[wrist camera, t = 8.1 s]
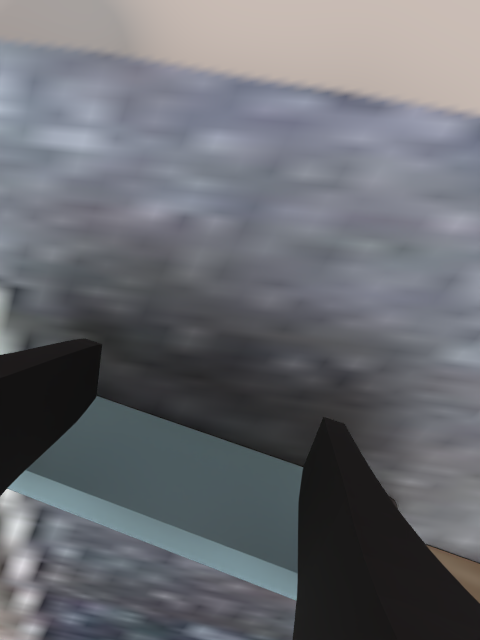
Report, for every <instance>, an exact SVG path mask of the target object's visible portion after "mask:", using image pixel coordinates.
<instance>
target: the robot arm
mask: <svg viewBox="0 0 480 640" xmlns="http://www.w3.org/2000/svg"><path fill="white" fill-rule="evenodd" d="M101 348H102V344H100V343H97V342H94V341H91V340H88V339H77V340H71V341H66V342H61V343H56V344H51V345H47V346H42V347H37V348H33V349H28V350H24V351H19V352H14V353H9V354H3V355H0V496H1V495H2V494H3V492H4V491H5V490H6V489H7V488H8V487H9V486H10V485H11V484H12V483H13V482H14V481H15V480H16V479H17V478H18V477H19V476H20V475H21V474H22V473H23V472H24V471H25V470H26V469H27V468H28V467H30V466H31V465H32V464H33V463H34V462H35V461H36V460H37V459H38V458H39V457H40V456H41V455H42V454H43V453H44V452H46V451H47V450H48V449H49V448H50V447H51V446H52V445H53V444H54V443H55V442H56V441H57V440H58V439H59V438H60V437H62V436H63V435H64V434H65V433H66V432H67V431H68V430H69V429H70V428H71V427H72V426H73V425H74V424H75V423H76V422H77V421H78V420H79V418H80V417H81V416H82V415H83V414H84V413H85V411H86V410H87V409H88V407H89V406H90V405H91V404H92V402H93V401H94V400H95V399H96V394H97V385H98V376H99V367H100V358H101ZM293 640H480V603H479V602H478V601H477V600H476V599H475V598H474V597H473V596H472V595H471V594H470V593H469V592H468V591H467V590H466V589H465V588H464V587H463V586H462V585H461V583H460V582H459V581H458V580H457V579H456V578H455V577H454V576H453V575H452V574H451V573H450V572H449V570H448V569H447V568H446V567H445V566H444V565H443V564H442V563H441V562H440V561H439V560H438V558H437V557H436V556H435V555H434V554H433V553H432V552H431V550H430V549H429V548H428V547H427V546H426V544H425V543H424V542H423V541H422V540H421V538H420V537H419V536H418V535H417V533H416V532H415V531H414V530H413V528H412V527H411V526H410V525H409V524H408V522H407V521H406V520H405V518H404V517H403V516H402V514H401V513H400V512H399V510H398V509H397V508H396V506H395V505H394V503H393V502H392V500H391V499H390V498H389V496H388V495H387V493H386V492H385V490H384V489H383V487H382V486H381V484H380V483H379V481H378V480H377V478H376V477H375V475H374V474H373V472H372V470H371V469H370V467H369V466H368V464H367V462H366V461H365V459H364V457H363V456H362V454H361V452H360V450H359V449H358V447H357V445H356V444H355V442H354V440H353V438H352V437H351V435H350V433H349V431H348V430H347V428H346V426H345V425H344V423H340V422H337V421H334V420H331V419H328V418H325V417H323V420H322V422H321V425H320V427H319V430H318V432H317V435H316V437H315V440H314V442H313V445H312V447H311V450H310V452H309V455H308V457H307V460H306V462H305V465H304V467H303V471H302V478H301V485H300V493H299V501H298V583H297V603H296V613H295V623H294V633H293Z"/></svg>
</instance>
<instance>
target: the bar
mask: <svg viewBox="0 0 480 640" xmlns="http://www.w3.org/2000/svg"><path fill="white" fill-rule="evenodd" d="M302 471H303V467H301V466H298V465H295V464H292V463H289V462H286V461H283V460H281V459H278V458H275V457H272V456H269V455H266V454H263V453H260V452H257V451H255V450H252V449H249V448H246V447H243V446H240V445H237V444H234V443H231V442H229V441H226V440H223V439H220V438H217V437H214V436H211V435H208V434H205V433H202V432H200V431H197V430H194V429H191V428H188V427H185V426H182V425H179V424H176V423H174V422H171V421H168V420H165V419H162V418H159V417H156V416H153V415H150V414H148V413H145V412H142V411H139V410H136V409H133V408H130V407H127V406H124V405H122V404H119V403H116V402H113V401H110V400H107V399H104V398H101V397H98V396H96V399H95V400H94V401H93V402H92V404H91V405H90V406H89V407H88V409H87V410H86V411H85V413H84V414H83V415H82V416H81V417H80V418H79V420H78V421H77V422H76V423H75V424H74V425H73V426H72V427H71V428H70V429H69V430H68V431H67V432H66V433H65V434H64V435H63V436H62V437H60V438H59V439H58V440H57V441H56V442H55V443H54V444H53V445H52V446H51V447H50V448H49V449H48V450H47V451H46V452H44V453H43V454H42V455H41V456H40V457H39V458H38V459H37V460H36V461H35V462H34V463H33V464H32V465H31V466H30V467H28V468H27V469H26V470H25V471H24V472H23V473H22V474H21V475H20V476H19V477H18V478H17V479H16V480H15V481H14V482H13V483H12V484H11V485H10V486H9V487H8V488H7V489H10V490H13V491H15V492H18V493H20V494H23V495H26V496H28V497H31V498H33V499H36V500H38V501H41V502H44V503H46V504H49V505H51V506H54V507H56V508H59V509H62V510H64V511H67V512H69V513H72V514H74V515H77V516H80V517H82V518H85V519H87V520H90V521H93V522H95V523H98V524H100V525H103V526H105V527H108V528H111V529H113V530H116V531H118V532H121V533H123V534H126V535H129V536H131V537H134V538H136V539H139V540H141V541H144V542H147V543H149V544H152V545H154V546H157V547H160V548H162V549H165V550H167V551H170V552H172V553H175V554H178V555H180V556H183V557H185V558H188V559H190V560H193V561H196V562H198V563H201V564H203V565H206V566H208V567H211V568H214V569H216V570H219V571H221V572H224V573H227V574H229V575H232V576H234V577H237V578H239V579H242V580H245V581H247V582H250V583H252V584H255V585H257V586H260V587H263V588H265V589H268V590H270V591H273V592H275V593H278V594H281V595H283V596H286V597H288V598H291V599H294V600H296V601H297V583H298V501H299V493H300V485H301V478H302Z"/></svg>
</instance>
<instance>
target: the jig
mask: <svg viewBox="0 0 480 640" xmlns="http://www.w3.org/2000/svg"><path fill="white" fill-rule="evenodd" d="M389 498H390V497H389ZM390 499H391V500H392V502H393V503H394V505H395V506H396V508H397V504H396V502H395V501H394V500H393V499H392V498H390ZM397 509H398V508H397ZM426 546H427V547H428V548H429V549H430V550H431V552H432V553H433V554H434V555H435V556H436V557H437V558H438V560H439V561H440V562H441V563H442V564H443V565H444V566H445V567H446V568H447V569H448V570H449V572H450V573H451V574H452V575H453V576H454V577H455V578H456V579H457V580H458V581H459V582H460V583H461V585H462V586H463V587H464V588H465V589H466V590H467V591H468V592H469V593H470V594H471V595H472V596H473V597H474V598H475V599H476V600H477V601H478V602H479V603H480V564H479V563H476V562H473V561H470V560H467V559H465V558H462V557H459V556H456V555H453V554H451V553H448V552H445V551H442V550H439V549H437V548H434V547H431V546H428V545H426Z"/></svg>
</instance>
